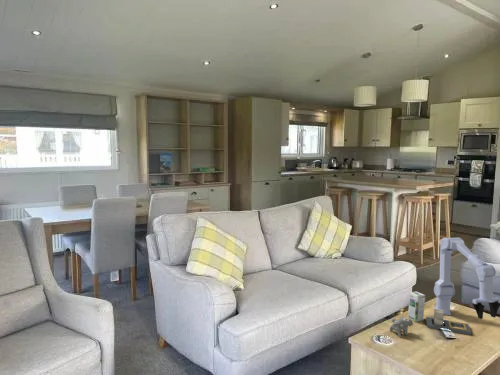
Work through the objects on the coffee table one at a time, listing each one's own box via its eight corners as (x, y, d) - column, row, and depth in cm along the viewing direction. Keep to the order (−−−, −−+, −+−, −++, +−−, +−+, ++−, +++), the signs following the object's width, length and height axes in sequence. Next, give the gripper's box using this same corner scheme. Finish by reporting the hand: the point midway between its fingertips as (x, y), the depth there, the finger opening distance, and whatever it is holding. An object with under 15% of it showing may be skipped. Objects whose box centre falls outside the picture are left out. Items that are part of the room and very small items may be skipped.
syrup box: (407, 317, 208) (409, 292, 206) (415, 316, 210) (417, 290, 209) (415, 322, 203) (417, 296, 201) (423, 320, 205) (425, 294, 204)
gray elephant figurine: (386, 332, 192) (387, 318, 190) (399, 324, 199) (400, 311, 198) (403, 340, 184) (404, 325, 183) (416, 332, 192) (417, 317, 190)
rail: (425, 319, 207) (426, 316, 206) (467, 326, 199) (467, 323, 199) (427, 327, 197) (427, 324, 197) (470, 335, 190) (471, 332, 190)
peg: (433, 323, 202) (434, 308, 202) (441, 324, 201) (443, 310, 200) (434, 326, 199) (435, 311, 198) (442, 327, 197) (443, 313, 196)
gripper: (480, 292, 181) (481, 321, 181) (505, 290, 185) (506, 318, 184) (468, 289, 188) (469, 316, 188) (493, 287, 192) (493, 314, 191)
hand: (486, 317), depth 187 cm, fingers open, 7 cm apart
